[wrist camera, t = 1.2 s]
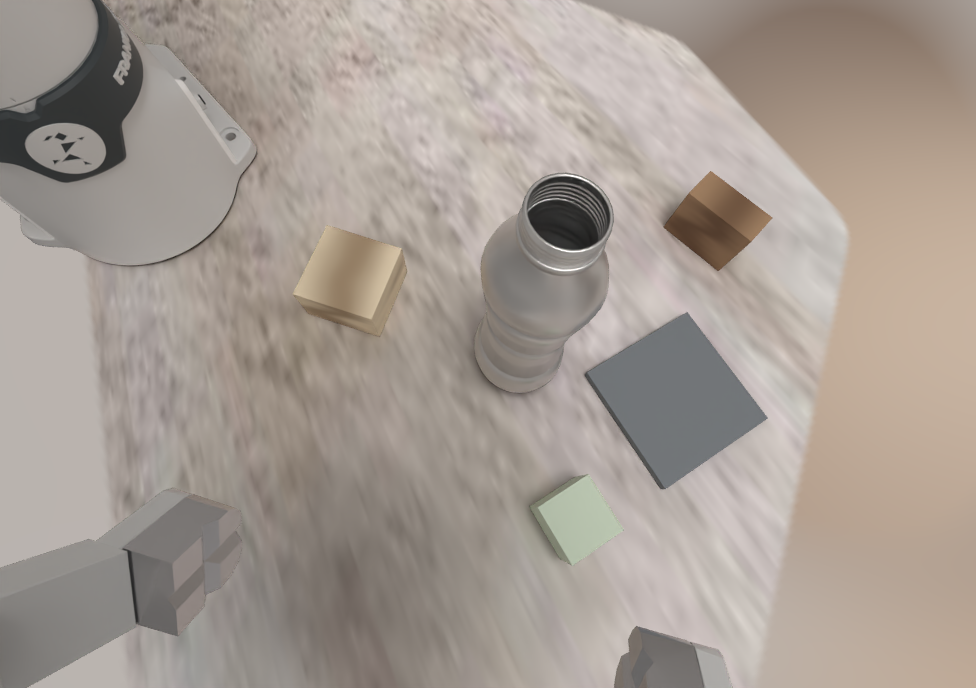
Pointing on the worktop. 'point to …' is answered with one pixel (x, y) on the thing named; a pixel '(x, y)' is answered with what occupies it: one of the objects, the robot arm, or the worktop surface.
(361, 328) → the beech brick
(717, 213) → the walnut brick
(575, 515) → the sage brick
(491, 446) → the worktop surface
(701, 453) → the mat
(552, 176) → the plastic bottle
